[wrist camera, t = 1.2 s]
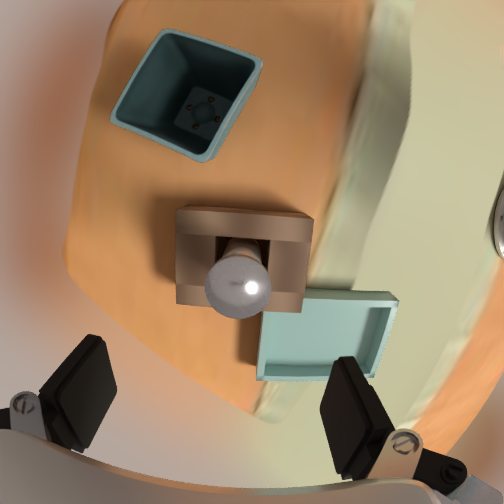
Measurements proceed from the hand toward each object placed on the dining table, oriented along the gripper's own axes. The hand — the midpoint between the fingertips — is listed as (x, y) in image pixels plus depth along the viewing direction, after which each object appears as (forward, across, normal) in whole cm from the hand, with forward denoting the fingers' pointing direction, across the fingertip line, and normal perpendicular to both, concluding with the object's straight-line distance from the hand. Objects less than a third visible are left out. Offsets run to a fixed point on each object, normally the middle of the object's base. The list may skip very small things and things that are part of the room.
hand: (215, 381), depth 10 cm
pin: (+19, -1, 0) cm, 19 cm away
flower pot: (+19, +4, -14) cm, 24 cm away
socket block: (+19, -1, 0) cm, 19 cm away
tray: (+19, -11, +9) cm, 24 cm away
